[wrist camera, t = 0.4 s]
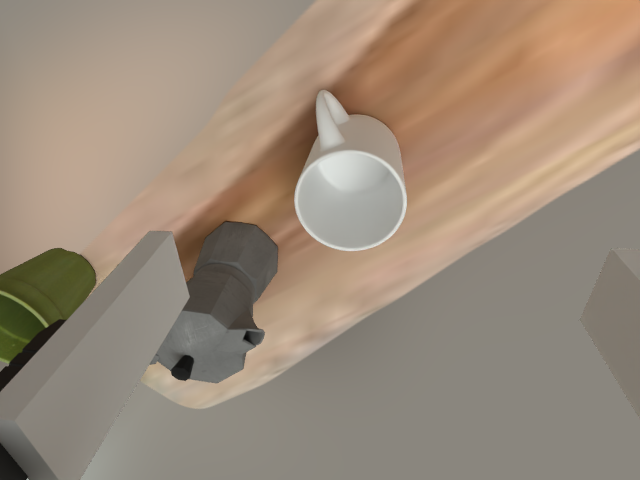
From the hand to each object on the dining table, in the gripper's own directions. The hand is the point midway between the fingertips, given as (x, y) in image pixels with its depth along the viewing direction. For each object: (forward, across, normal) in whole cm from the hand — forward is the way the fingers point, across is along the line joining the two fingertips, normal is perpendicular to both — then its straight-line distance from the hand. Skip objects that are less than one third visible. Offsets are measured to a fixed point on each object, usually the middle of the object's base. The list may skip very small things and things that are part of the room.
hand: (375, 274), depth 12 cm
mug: (+28, -2, -5) cm, 28 cm away
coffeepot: (+28, -16, -19) cm, 37 cm away
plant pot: (+28, -39, -22) cm, 53 cm away
